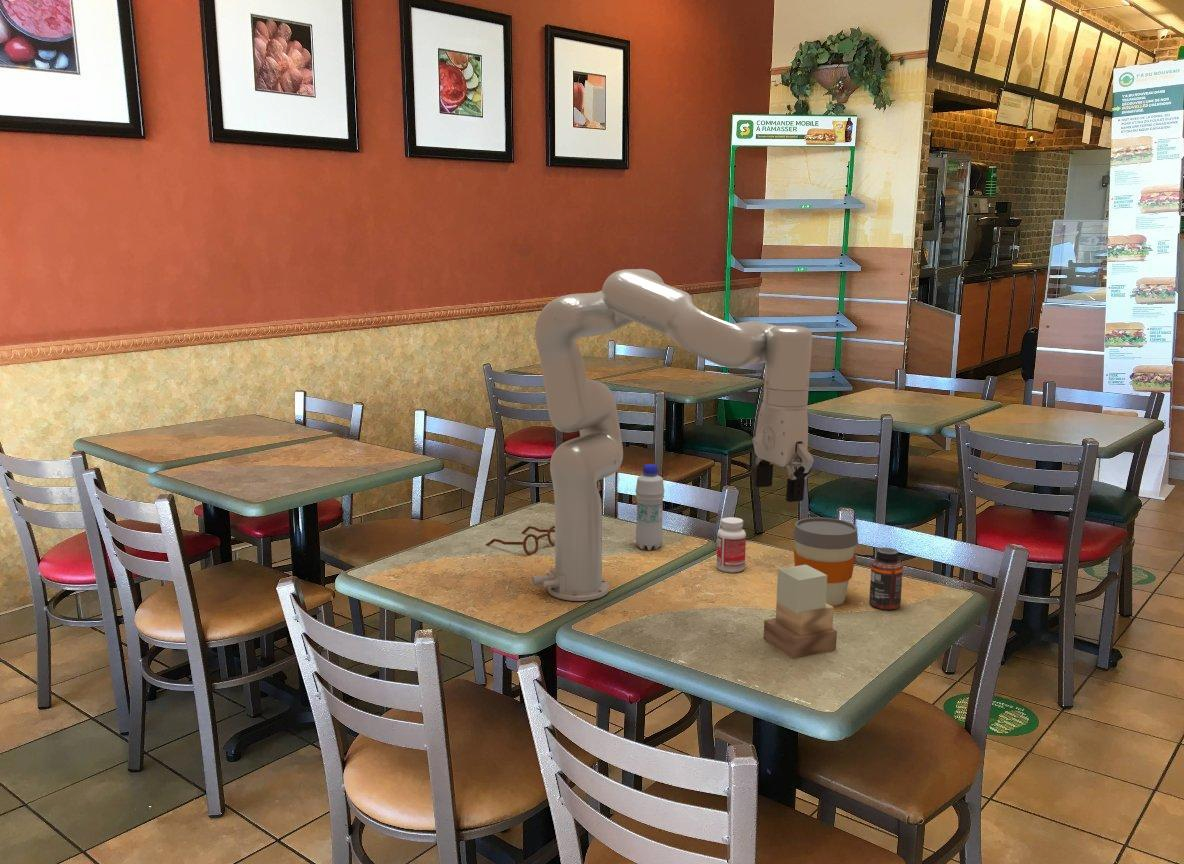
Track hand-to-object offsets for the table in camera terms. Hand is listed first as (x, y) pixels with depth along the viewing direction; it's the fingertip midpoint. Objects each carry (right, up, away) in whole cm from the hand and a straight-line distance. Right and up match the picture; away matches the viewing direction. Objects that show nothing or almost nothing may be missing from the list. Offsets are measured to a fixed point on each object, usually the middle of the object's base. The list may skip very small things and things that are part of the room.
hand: (778, 493), depth 166 cm
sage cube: (+4, -19, -1) cm, 20 cm away
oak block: (+5, -23, +1) cm, 24 cm away
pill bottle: (-3, -19, +40) cm, 45 cm away
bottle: (-20, -16, +54) cm, 60 cm away
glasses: (-49, -16, +56) cm, 76 cm away
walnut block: (+4, -27, +1) cm, 28 cm away
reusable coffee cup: (+13, -23, +23) cm, 35 cm away
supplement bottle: (+25, -24, +20) cm, 39 cm away
